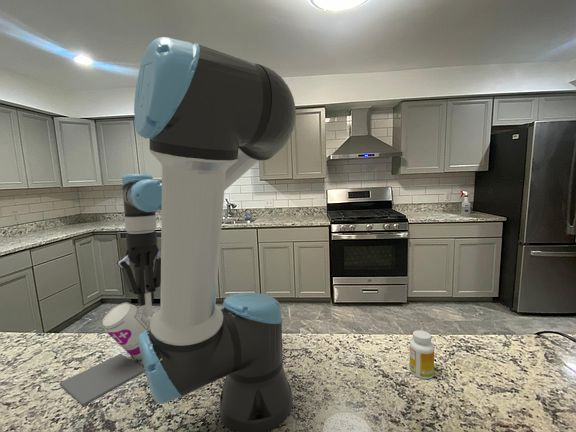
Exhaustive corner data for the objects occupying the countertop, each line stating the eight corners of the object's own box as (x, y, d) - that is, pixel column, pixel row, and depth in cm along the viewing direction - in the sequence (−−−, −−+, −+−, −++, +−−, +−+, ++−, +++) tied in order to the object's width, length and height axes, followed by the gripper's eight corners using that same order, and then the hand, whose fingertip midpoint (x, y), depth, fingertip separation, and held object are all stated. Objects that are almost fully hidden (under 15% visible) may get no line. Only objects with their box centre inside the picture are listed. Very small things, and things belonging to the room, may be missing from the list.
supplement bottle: (436, 371, 67) (437, 333, 67) (430, 383, 63) (430, 342, 63) (413, 362, 71) (414, 326, 70) (406, 373, 67) (406, 334, 66)
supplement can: (153, 361, 73) (119, 326, 66) (128, 362, 76) (93, 329, 68) (167, 333, 80) (138, 299, 72) (144, 335, 82) (114, 302, 75)
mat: (146, 370, 71) (146, 368, 71) (82, 406, 59) (82, 404, 59) (121, 355, 78) (120, 353, 78) (59, 384, 66) (59, 382, 66)
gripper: (156, 228, 83) (161, 304, 85) (108, 233, 72) (115, 320, 74) (171, 229, 79) (175, 309, 81) (123, 235, 68) (130, 328, 70)
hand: (147, 314), depth 77 cm, fingers closed
